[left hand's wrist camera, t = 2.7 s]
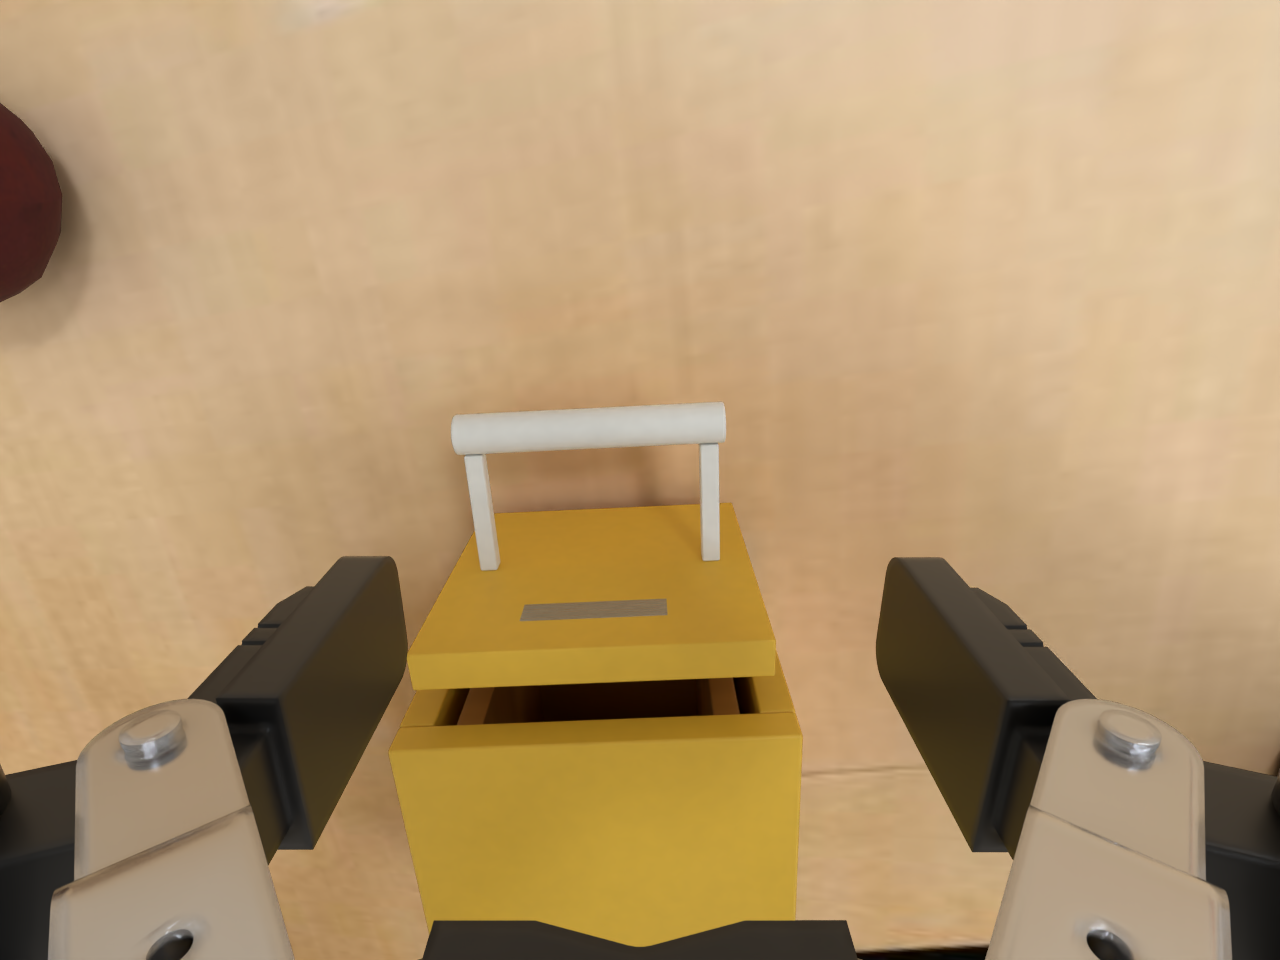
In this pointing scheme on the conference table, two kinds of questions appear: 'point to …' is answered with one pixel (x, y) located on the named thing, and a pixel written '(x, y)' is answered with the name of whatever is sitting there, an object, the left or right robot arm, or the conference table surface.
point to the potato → (25, 206)
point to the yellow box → (605, 816)
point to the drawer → (596, 586)
